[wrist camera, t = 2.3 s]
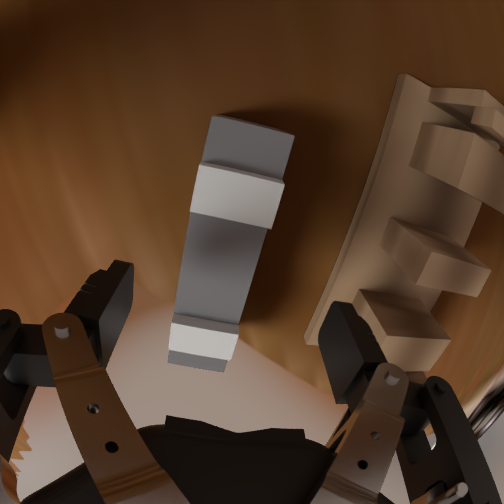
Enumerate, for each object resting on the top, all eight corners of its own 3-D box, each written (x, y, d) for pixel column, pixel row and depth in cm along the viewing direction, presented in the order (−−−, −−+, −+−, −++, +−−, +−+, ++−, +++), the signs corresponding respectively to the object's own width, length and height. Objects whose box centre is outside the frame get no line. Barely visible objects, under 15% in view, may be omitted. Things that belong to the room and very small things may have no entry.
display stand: (303, 335, 23) (324, 408, 17) (398, 74, 15) (473, 69, 9) (401, 344, 25) (433, 401, 18) (493, 135, 17) (561, 157, 10)
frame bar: (178, 313, 22) (165, 372, 17) (218, 114, 16) (210, 115, 11) (224, 322, 22) (223, 382, 17) (277, 128, 17) (298, 137, 11)
